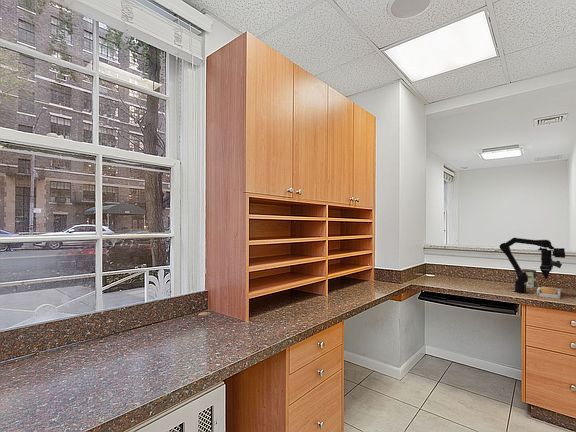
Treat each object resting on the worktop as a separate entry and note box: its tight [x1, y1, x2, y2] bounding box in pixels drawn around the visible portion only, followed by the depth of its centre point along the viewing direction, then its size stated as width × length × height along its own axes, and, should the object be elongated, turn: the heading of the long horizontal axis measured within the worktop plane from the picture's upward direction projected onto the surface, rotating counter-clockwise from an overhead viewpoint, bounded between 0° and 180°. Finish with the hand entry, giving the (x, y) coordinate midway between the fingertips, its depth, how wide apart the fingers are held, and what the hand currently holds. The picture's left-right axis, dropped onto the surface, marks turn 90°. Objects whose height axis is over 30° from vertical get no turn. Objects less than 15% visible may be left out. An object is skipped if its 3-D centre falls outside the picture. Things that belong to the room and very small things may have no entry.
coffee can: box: [521, 268, 538, 289], centre depth 253 cm, size 10×10×14 cm
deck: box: [536, 286, 562, 300], centre depth 226 cm, size 28×12×4 cm, turn 137°
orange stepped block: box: [541, 286, 556, 295], centre depth 220 cm, size 6×8×6 cm
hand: (546, 278), depth 222 cm, fingers open, 9 cm apart
